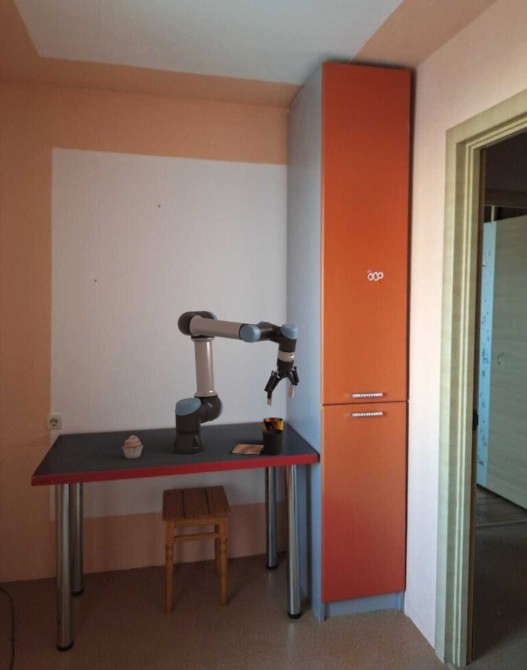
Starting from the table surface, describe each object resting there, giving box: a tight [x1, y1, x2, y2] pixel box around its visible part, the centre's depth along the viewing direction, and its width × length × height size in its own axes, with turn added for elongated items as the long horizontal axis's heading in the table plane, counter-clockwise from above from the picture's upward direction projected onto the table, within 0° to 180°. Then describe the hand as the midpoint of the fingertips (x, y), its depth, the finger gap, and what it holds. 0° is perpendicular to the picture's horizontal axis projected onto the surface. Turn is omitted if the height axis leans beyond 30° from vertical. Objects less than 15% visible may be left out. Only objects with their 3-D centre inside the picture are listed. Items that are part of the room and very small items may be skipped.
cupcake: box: [121, 434, 144, 460], centre depth 225 cm, size 9×9×10 cm
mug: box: [262, 416, 284, 431], centre depth 242 cm, size 10×14×12 cm
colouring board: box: [231, 443, 263, 456], centre depth 233 cm, size 12×12×1 cm
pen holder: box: [262, 429, 284, 456], centre depth 230 cm, size 9×9×10 cm
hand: (280, 401), depth 231 cm, fingers open, 13 cm apart
